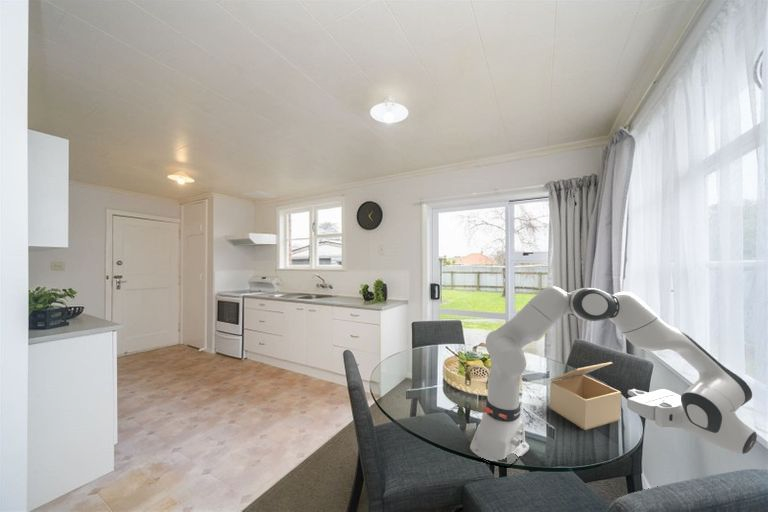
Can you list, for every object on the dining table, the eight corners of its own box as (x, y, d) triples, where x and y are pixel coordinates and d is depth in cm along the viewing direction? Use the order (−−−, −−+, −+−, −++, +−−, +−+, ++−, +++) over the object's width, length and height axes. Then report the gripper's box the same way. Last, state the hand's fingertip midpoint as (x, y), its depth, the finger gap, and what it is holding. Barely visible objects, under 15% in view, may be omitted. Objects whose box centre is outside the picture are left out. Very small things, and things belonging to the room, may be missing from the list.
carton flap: (612, 363, 123) (611, 361, 123) (577, 370, 117) (576, 368, 117) (583, 374, 135) (582, 372, 136) (550, 381, 129) (549, 379, 129)
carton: (619, 420, 121) (621, 391, 120) (584, 430, 114) (585, 400, 114) (582, 400, 136) (583, 374, 135) (549, 408, 130) (550, 381, 129)
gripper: (697, 396, 98) (649, 378, 111) (658, 408, 92) (611, 387, 105) (696, 414, 98) (648, 394, 111) (657, 428, 92) (611, 404, 105)
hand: (630, 391), depth 108 cm, fingers closed
